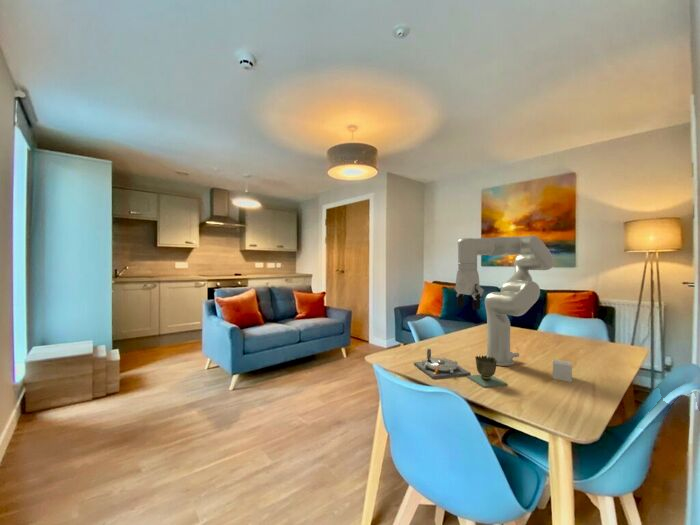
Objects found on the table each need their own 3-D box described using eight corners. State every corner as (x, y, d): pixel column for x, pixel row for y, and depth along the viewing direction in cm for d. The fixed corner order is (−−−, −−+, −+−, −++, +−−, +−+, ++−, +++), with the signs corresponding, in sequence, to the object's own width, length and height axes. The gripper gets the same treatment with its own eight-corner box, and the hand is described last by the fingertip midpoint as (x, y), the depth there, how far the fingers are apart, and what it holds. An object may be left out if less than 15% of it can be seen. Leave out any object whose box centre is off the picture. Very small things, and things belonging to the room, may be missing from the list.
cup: (499, 383, 111) (499, 362, 111) (477, 382, 112) (478, 360, 112) (493, 376, 118) (493, 355, 118) (473, 374, 119) (473, 354, 119)
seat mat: (488, 375, 121) (488, 373, 121) (507, 385, 111) (507, 383, 111) (466, 377, 118) (466, 375, 118) (483, 387, 109) (483, 385, 109)
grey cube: (552, 378, 118) (552, 363, 118) (553, 374, 123) (553, 359, 123) (572, 382, 114) (571, 366, 114) (571, 377, 119) (571, 362, 119)
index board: (447, 361, 137) (447, 359, 137) (470, 375, 121) (470, 371, 121) (413, 364, 133) (413, 361, 133) (432, 378, 117) (432, 375, 117)
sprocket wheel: (427, 358, 137) (427, 344, 137) (463, 364, 130) (463, 349, 130) (417, 368, 124) (417, 353, 124) (456, 375, 116) (456, 359, 116)
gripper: (447, 267, 135) (448, 305, 136) (474, 268, 119) (475, 311, 119) (461, 266, 138) (462, 304, 138) (490, 267, 121) (490, 310, 121)
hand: (468, 307), depth 128 cm, fingers open, 9 cm apart
